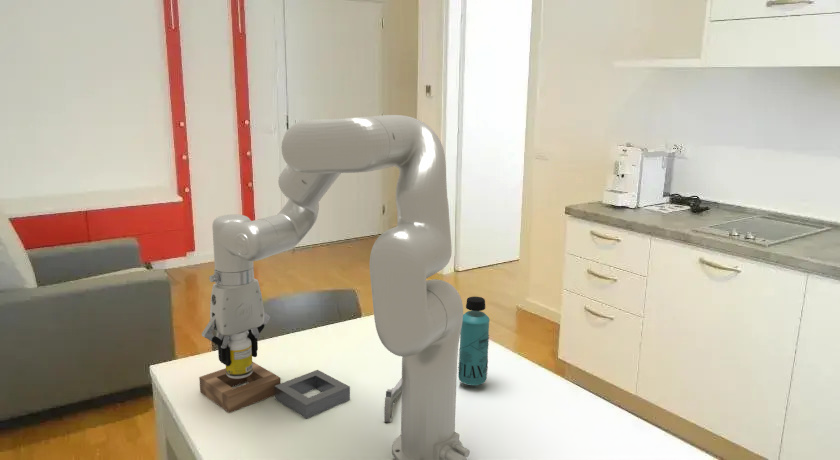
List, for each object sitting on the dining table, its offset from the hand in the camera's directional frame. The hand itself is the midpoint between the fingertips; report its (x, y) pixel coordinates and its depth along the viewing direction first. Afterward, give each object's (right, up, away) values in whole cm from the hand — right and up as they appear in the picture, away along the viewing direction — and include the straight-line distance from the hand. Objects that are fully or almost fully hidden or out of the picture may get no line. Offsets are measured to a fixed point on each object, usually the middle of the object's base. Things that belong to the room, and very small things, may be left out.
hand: (238, 358), depth 130 cm
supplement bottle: (0, -4, +1) cm, 4 cm away
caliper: (+33, -9, +1) cm, 34 cm away
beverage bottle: (+49, -7, +7) cm, 50 cm away
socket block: (+16, -8, -1) cm, 18 cm away
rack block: (0, -8, +2) cm, 8 cm away
